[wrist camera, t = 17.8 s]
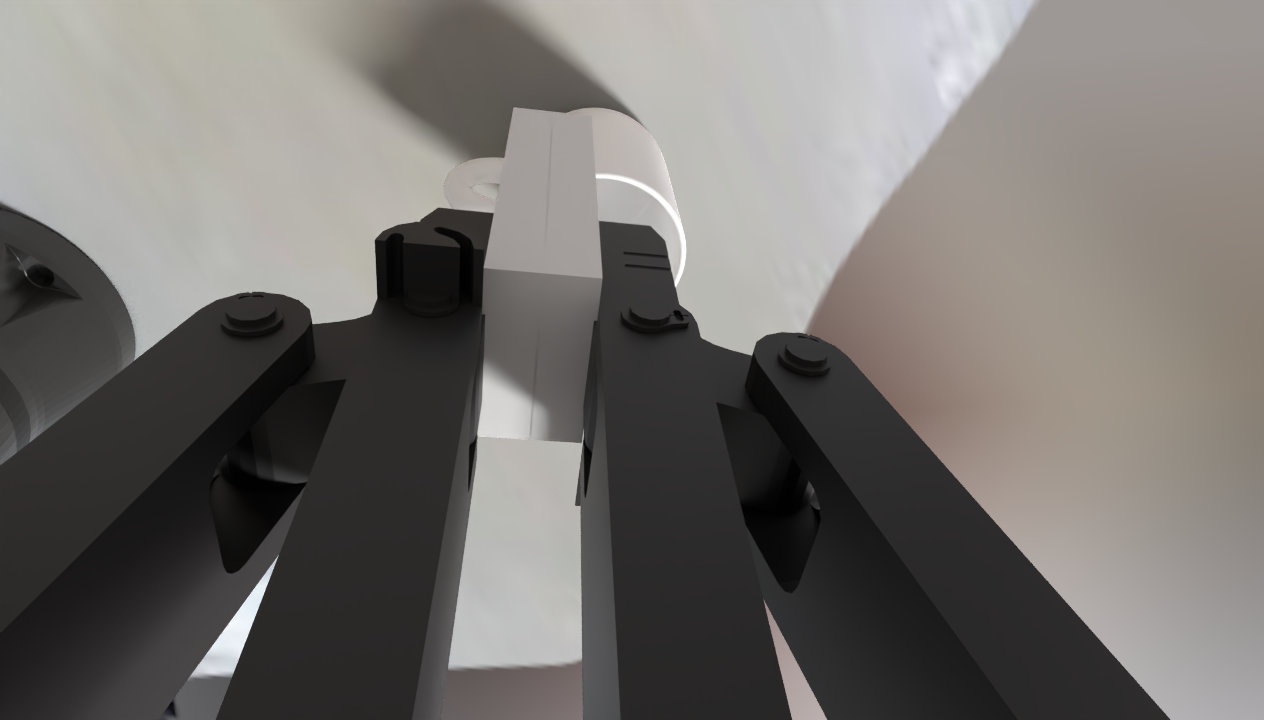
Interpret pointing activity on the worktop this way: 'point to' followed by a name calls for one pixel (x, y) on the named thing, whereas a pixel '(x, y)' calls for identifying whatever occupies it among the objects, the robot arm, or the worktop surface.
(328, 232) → the worktop surface
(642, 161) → the mug
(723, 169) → the worktop surface
